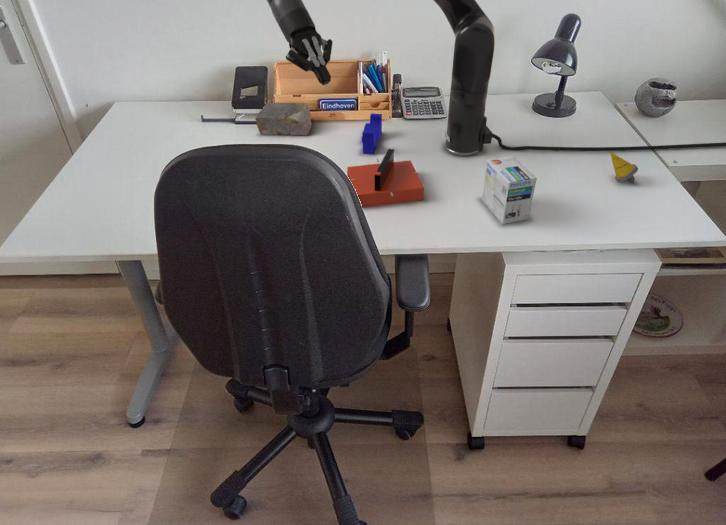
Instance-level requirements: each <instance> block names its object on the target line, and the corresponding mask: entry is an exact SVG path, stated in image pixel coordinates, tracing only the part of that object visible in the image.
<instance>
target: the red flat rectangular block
mask: <svg viewBox="0 0 726 525" xmlns="http://www.w3.org/2000/svg"><path fill="white" fill-rule="evenodd" d="M376 161H377V163H373V164H361V165H353V166H347V167H346V172H347V178H348V177H349V179H350V181H351V182H352V184H353V186H354V188H355V189H356V192H357V194H358V197H359V199H360V201H361V204H362V207H361V208H368V207H377V206H385V205H393V204H401V203H411V202H418V201H419V202H420V201H424V196H425V186H424V184H423V182H422V180H421V178H420V176H419V174H420V172H419V171H417V170H416V168H415V166H414V163H412V161H411V159H410V160H401V161H394V164H393V166H392V168H391V170H390V172H389V175H388V177H387V179H386V181H385V183H384V185H383V187H382V189H381V191H375V174H376V172H377V170H378V168H379V166H380V164H381V162H380V160H379V158H376Z"/></svg>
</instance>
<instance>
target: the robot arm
mask: <svg viewBox="0 0 726 525" xmlns="http://www.w3.org/2000/svg"><path fill="white" fill-rule="evenodd" d="M266 2H267V4H268V6H269V8H270V10H271V13H272V16H273V17H274V19H275V22H276V23H277V25H278V27H279V29H280V31H281V33H282V35H283V37H284V39H285V40H286V42H287V43H288V47H289V51H288V52H287V54H286V56H285V59H286V61H288V62H290V63H291V64H293V65H294V66H296V67H298V68H299V69H301V70H302V71H304V72H312V73H313V74H314V76H315V77H316V80H317V81H318V83H319V84H321V86H326V85H328V84H329V83H330V82H331V81H332V75H331V74H330V71H329V69H328V68H327V65H328V63H329V62H330V61H331V58H332V50H333V40H332V39H330V38H328V39H324V38H322V35H321V34H320V33H319V32H318V31H317V29H316V25H315V22H314V21H313V19H312V17H311V14H310V13H309V11H308V9H307V7H306V5H305V4H304V2H303V0H266ZM433 2H434V3H435V4H436V5H437V6H438V7H439V8H440V10H441V11H442V13H443V14H444V16H445V18H446V20H447V22H448V23H449V25H450V28H451V30H452V32H453V35H454V37H455V38H454V46H453V56H452V69H451V81H450V92H449V102H448V103H449V104H448V115H447V124H446V131H444V138H445V143H444V148H445V151H447V152H448V153H450V154H452V155H454V156H459V157H460V156H461V157H469V156H474V155H477V154H478V153H480V152H483V151H484V145H491V144H492V141H493V139H495V140H496V141H497V144H498V147H499V148H501V149H503V150H506V151H526V150H529V151H530V150H532V151H533V150H534V151H559V152H561V151H564V152H567V151H568V152H615V151H620V152H622V151H650V150H651V151H653V150H671V149H691V148H713V147H726V142H710V143H709V142H707V143H704V142H703V143H688V144H687V143H685V144H666V145H665V144H664V145H663V144H662V145H642V146H640V145H639V146H637V145H636V146H585V147H583V146H576V147H575V146H541V145H540V146H538V145H537V146H536V145H523V146H522V145H521V146H507V145H505V144H503V140H502V138H501V137H500V136H498V135H496V134H494V133H493V132H492V130H491V129H490V128H489V127H488V126H487V121H488V117H487V116H486V108H487V107H486V106H487V98H488V91H489V84H490V79H491V76H492V68H493V62H494V54H495V46H496V34H495V33H496V32H495V27H494V24H493V22H492V21H491V20H490V18H489V17H488V15H487V14H486V13H485V11H484V10H483V9H482V7H481V6H480V5H479V3H478V2H477V1H476V0H433Z"/></svg>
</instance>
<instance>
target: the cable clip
mask: <svg viewBox="0 0 726 525" xmlns="http://www.w3.org/2000/svg"><path fill="white" fill-rule="evenodd" d="M382 125H383V114H382V113H373V112H371V113H370V115H369V122H365V125H364V127H363V131H362V136H361V143H362V154H363V155H364V154H365V155H375V153H376V150H377V147H378V145H379V143H380V139H381V137H382V134H383V133H382V132H383V126H382Z"/></svg>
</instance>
